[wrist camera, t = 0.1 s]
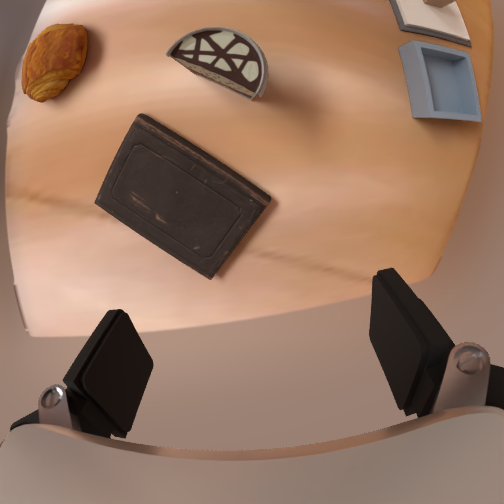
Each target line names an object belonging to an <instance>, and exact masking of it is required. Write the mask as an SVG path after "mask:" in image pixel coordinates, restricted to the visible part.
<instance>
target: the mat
mask: <svg viewBox="0 0 504 504" xmlns="http://www.w3.org/2000/svg"><path fill="white" fill-rule="evenodd" d="M390 3H391V5H392V8H393V10H394V13H395V16H396V19H397V22H398V25H399V28H400V30H402V31H408V32H414V33H419V34H424V35H429V36H433V37H437V38H441V39H445V40H449V41H453V42H456V43H460V44H463V45H466V46H469V47H471V43H470V40H468V41H466V40H463V39H460V38H457V37H453V36H450V35H446V34H443V33H439V32H435V31H431V30H427V29H422V28H417V27H412V26H407V25H405V24H404V21H403V18H402V15H401V12H400V10H399V7H398V4H397V2H396V0H390Z"/></svg>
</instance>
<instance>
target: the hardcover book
mask: <svg viewBox="0 0 504 504" xmlns="http://www.w3.org/2000/svg"><path fill="white" fill-rule="evenodd" d="M270 201H271V197H270V196H269V195H268V194H266V193H265V192H263V191H262V190H261V189H259V188H258V187H256V186H255V185H253V184H252V183H251V182H249V181H248V180H246V179H245V178H243V177H242V176H240V175H239V174H238V173H236V172H235V171H233V170H232V169H230V168H229V167H227V166H226V165H224V164H223V163H221V162H220V161H218V160H217V159H215V158H214V157H212V156H211V155H209V154H207V153H206V152H204V151H203V150H201V149H200V148H198V147H197V146H195V145H193V144H192V143H190V142H189V141H187V140H186V139H184V138H182V137H181V136H179V135H178V134H176V133H174V132H173V131H171V130H169V129H168V128H166V127H165V126H163V125H161V124H160V123H158V122H156V121H155V120H153V119H151V118H150V117H148V116H146V115H144V114H142V113H141V114H139V115H138V116H137V117H136V118H135V120H134V122H133V124H132V125H131V127H130V129H129V131H128V133H127V134H126V136H125V138H124V140H123V142H122V144H121V146H120V148H119V150H118V152H117V154H116V156H115V158H114V160H113V162H112V164H111V166H110V168H109V170H108V173H107V175H106V177H105V179H104V181H103V184H102V186H101V188H100V191H99V193H98V195H97V198H96V200H95V204H96V205H98V206H99V207H101V208H102V209H104V210H105V211H106V212H108V213H109V214H111V215H112V216H113V217H115V218H116V219H118V220H119V221H121V222H122V223H124V224H125V225H126V226H128V227H129V228H131V229H132V230H134V231H135V232H137V233H138V234H140V235H141V236H143V237H144V238H146V239H147V240H149V241H150V242H152V243H153V244H155V245H156V246H158V247H159V248H161V249H162V250H164V251H165V252H167V253H168V254H170V255H172V256H173V257H175V258H176V259H178V260H179V261H181V262H182V263H184V264H186V265H187V266H189V267H190V268H192V269H193V270H195V271H197V272H198V273H200V274H201V275H203V276H205V277H206V278H208V279H209V280H211V279H212V278H213V277H214V275H215V274H216V273H217V271H218V270H219V269H220V267H221V266H222V265H223V263H224V262H225V261H226V259H227V258H228V257H229V255H230V254H231V253H232V251H233V250H234V249H235V247H236V246H237V245H238V243H239V242H240V241H241V239H242V238H243V237H244V235H245V234H246V233H247V231H248V230H249V229H250V227H251V226H252V225H253V224H254V222H255V221H256V220H257V218H258V217H259V216H260V214H261V213H262V212H263V210H264V209H265V208H266V207H267V205H268V204H269V202H270Z"/></svg>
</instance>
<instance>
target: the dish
mask: <svg viewBox="0 0 504 504" xmlns="http://www.w3.org/2000/svg"><path fill="white" fill-rule="evenodd" d="M398 49H399V52H400V56H401V60H402V64H403V68H404V73H405V77H406V82H407V87H408V92H409V98H410V103H411V110H412V116H413V118H437V119H452V120H463V121H476V122H482V120H481V112H480V104H479V98H478V92H477V87H476V82H475V77H474V72H473V68H472V64H471V60H470V56H469V53H466V52H463V51H460V50H456V49H452V48H448V47H444V46H440V45H436V44H431V43H426V42H421V41H415V40H413V41H411V42H408V43H406V44H404V45H402V46H400V47H398Z"/></svg>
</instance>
